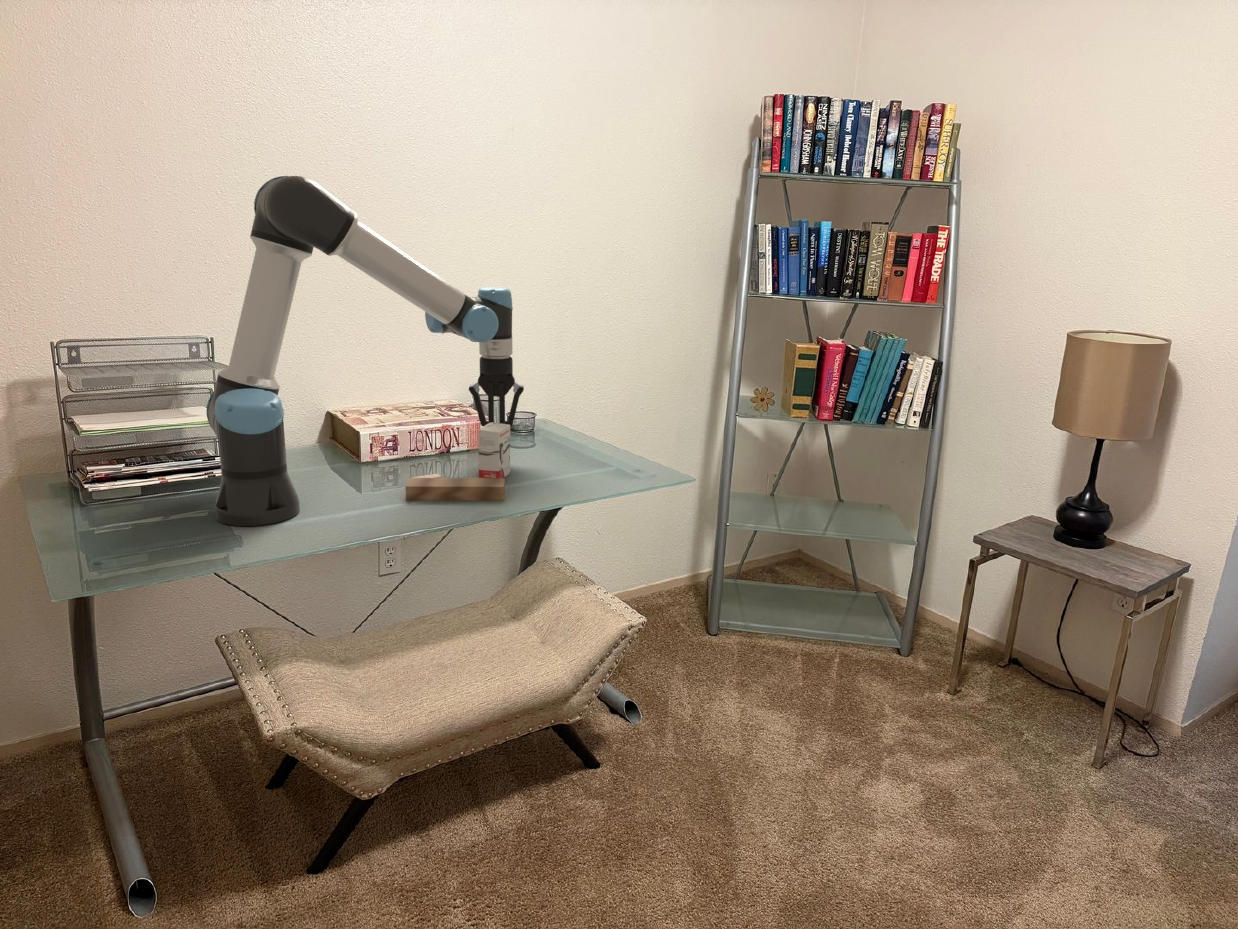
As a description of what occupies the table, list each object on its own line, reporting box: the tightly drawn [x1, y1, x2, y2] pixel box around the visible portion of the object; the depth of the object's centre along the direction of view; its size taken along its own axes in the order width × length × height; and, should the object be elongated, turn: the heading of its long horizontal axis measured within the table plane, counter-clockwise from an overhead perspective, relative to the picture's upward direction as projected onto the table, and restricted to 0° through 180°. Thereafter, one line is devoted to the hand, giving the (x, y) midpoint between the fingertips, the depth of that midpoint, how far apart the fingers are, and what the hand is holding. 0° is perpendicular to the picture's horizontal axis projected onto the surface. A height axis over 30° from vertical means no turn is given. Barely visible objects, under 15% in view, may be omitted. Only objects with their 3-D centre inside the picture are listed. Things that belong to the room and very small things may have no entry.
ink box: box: [477, 421, 511, 479], centre depth 194 cm, size 9×5×12 cm, turn 168°
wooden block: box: [404, 477, 506, 501], centre depth 182 cm, size 20×6×3 cm, turn 96°
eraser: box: [411, 473, 443, 478], centre depth 189 cm, size 6×2×2 cm, turn 127°
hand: (497, 454), depth 205 cm, fingers closed
